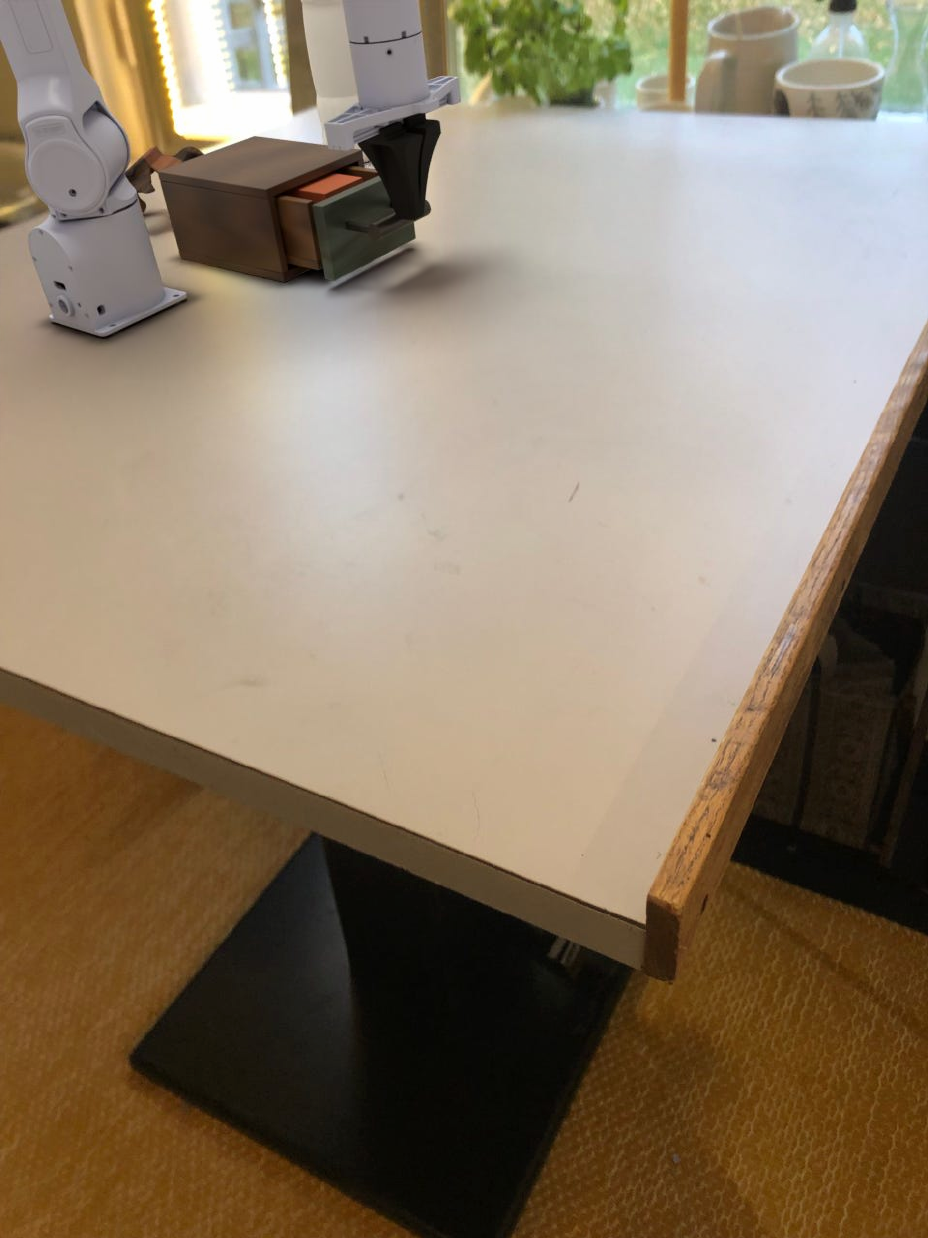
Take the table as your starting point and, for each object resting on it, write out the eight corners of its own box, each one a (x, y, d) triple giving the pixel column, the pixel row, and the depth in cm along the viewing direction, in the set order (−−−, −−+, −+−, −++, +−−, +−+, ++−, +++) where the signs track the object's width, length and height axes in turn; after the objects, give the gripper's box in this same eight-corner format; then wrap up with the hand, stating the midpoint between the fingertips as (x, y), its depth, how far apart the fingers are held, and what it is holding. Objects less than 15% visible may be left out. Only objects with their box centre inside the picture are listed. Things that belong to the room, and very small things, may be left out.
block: (334, 251, 88) (324, 193, 85) (295, 243, 91) (284, 187, 88) (370, 233, 91) (362, 177, 88) (331, 226, 94) (322, 171, 91)
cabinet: (374, 237, 96) (362, 149, 91) (284, 282, 89) (265, 189, 84) (271, 217, 104) (254, 135, 98) (180, 258, 96) (156, 171, 91)
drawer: (450, 244, 90) (443, 172, 86) (369, 288, 84) (358, 212, 80) (313, 219, 99) (301, 153, 95) (230, 257, 93) (214, 188, 88)
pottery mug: (182, 243, 101) (122, 173, 97) (143, 270, 108) (85, 206, 104) (247, 177, 106) (193, 109, 102) (205, 207, 113) (153, 144, 109)
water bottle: (317, 156, 121) (275, -93, 104) (371, 145, 122) (337, -102, 106) (336, 169, 115) (295, -91, 99) (391, 157, 117) (360, -100, 101)
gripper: (361, 58, 69) (391, 251, 78) (482, 15, 77) (497, 194, 86) (291, 56, 73) (327, 240, 81) (414, 15, 81) (435, 186, 90)
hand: (410, 216), depth 84 cm, fingers closed, pressing on drawer
